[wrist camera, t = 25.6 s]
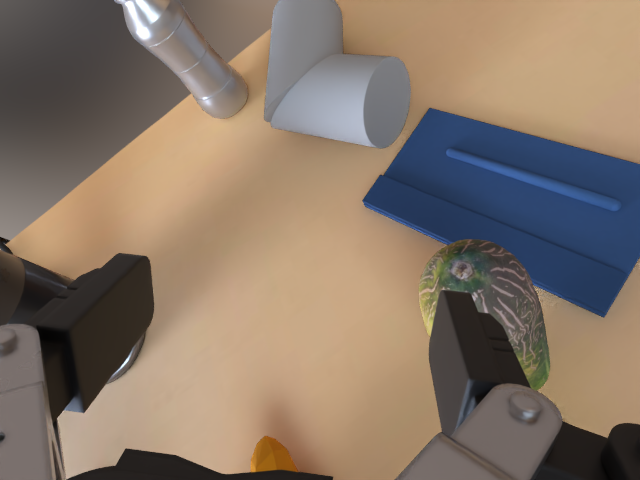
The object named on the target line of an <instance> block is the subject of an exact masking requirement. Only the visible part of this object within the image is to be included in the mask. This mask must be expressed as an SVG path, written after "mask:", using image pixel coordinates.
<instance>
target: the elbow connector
mask: <svg viewBox="0 0 640 480" xmlns="http://www.w3.org/2000/svg"><path fill="white" fill-rule="evenodd" d="M272 18H273V19H272V29H271V40H270V52H269V63H268V75H267V86H266V98H265V109H264V120H265V121H267V122H271V127H272V128H275V129H281V130H286V131H291V132H296V133H302V134H307V135H312V136H317V137H323V138H328V139H333V140H339V141H344V142H349V143H354V144H360V145H365V146H370V147H375V148H385V147H388V146H389V145H391V144H392V143H393V142H394V141H395V140H396V139H397V137H398V136H399V134H400V133H401V131H402V129H403V126H404V124H405V121H406V118H407V115H408V111H409V105H410V94H411V89H410V79H409V74H408V71H407V69H406V67H405V65H404V63H403V62H402V61H401V60H400V59H399V58H397V57H392V56H374V55H356V54H343V20H342V13H341V10H340V8H339V6H338V4H337V3H336V1H335V0H279V1H278V2H277V4H276V6H275V8H274V11H273V17H272Z"/></svg>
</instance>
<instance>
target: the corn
mask: <svg viewBox="0 0 640 480" xmlns="http://www.w3.org/2000/svg"><path fill="white" fill-rule="evenodd" d="M271 470H288V471H295V472H298V470H297V468H296V466H295V464H294V462H293V461H292V459H291V457H290V455H289V453H288V451H287V449H286V448H285V447H284V446H283V445H281V444H280V443H279V442H278V441H277V440H276V439H274V438H271V437H268V436H264V437H263V438H262V439H261V440H260V441H259V442H258V443H257V445H256V448H255V450H254V453H253V456H252V459H251V472H260V471H271Z"/></svg>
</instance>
